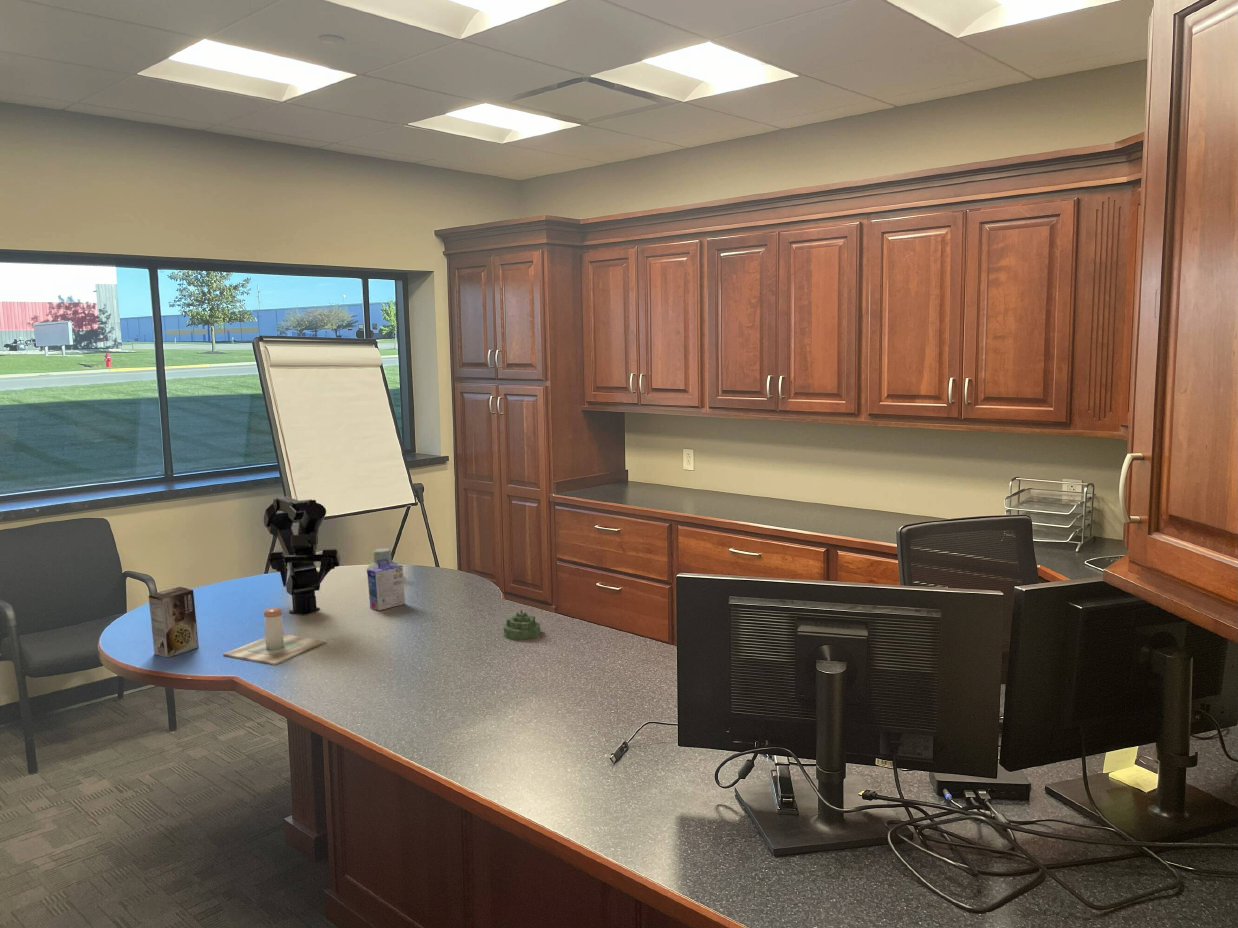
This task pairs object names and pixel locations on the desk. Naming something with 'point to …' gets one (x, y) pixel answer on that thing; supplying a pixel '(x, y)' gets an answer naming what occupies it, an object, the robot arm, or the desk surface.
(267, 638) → the tube
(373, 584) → the ink cartridge box
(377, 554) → the air freshener
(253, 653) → the board
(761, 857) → the desk surface
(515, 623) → the decorative artifact
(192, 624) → the brown food box
